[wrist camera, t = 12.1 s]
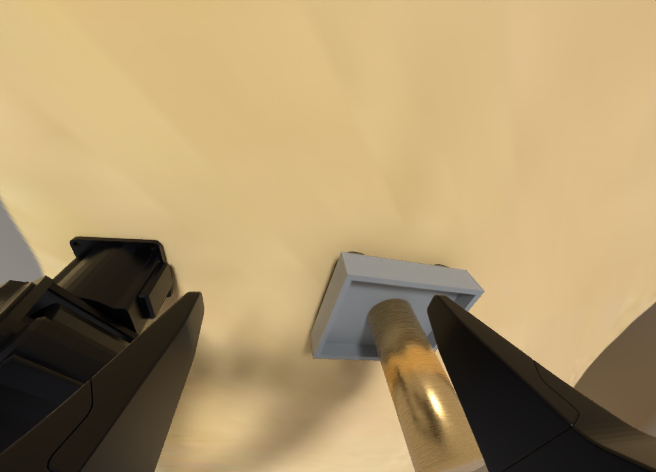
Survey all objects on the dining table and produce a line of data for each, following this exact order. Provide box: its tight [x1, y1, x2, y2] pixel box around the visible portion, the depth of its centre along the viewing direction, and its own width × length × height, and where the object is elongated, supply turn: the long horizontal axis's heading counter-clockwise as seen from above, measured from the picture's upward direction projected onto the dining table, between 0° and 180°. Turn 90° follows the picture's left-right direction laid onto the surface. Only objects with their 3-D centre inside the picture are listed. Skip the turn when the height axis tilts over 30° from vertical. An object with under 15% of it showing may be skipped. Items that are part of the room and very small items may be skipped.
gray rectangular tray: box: [311, 252, 484, 361], centre depth 28 cm, size 14×12×4 cm
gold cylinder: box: [367, 298, 485, 472], centre depth 22 cm, size 5×5×12 cm
